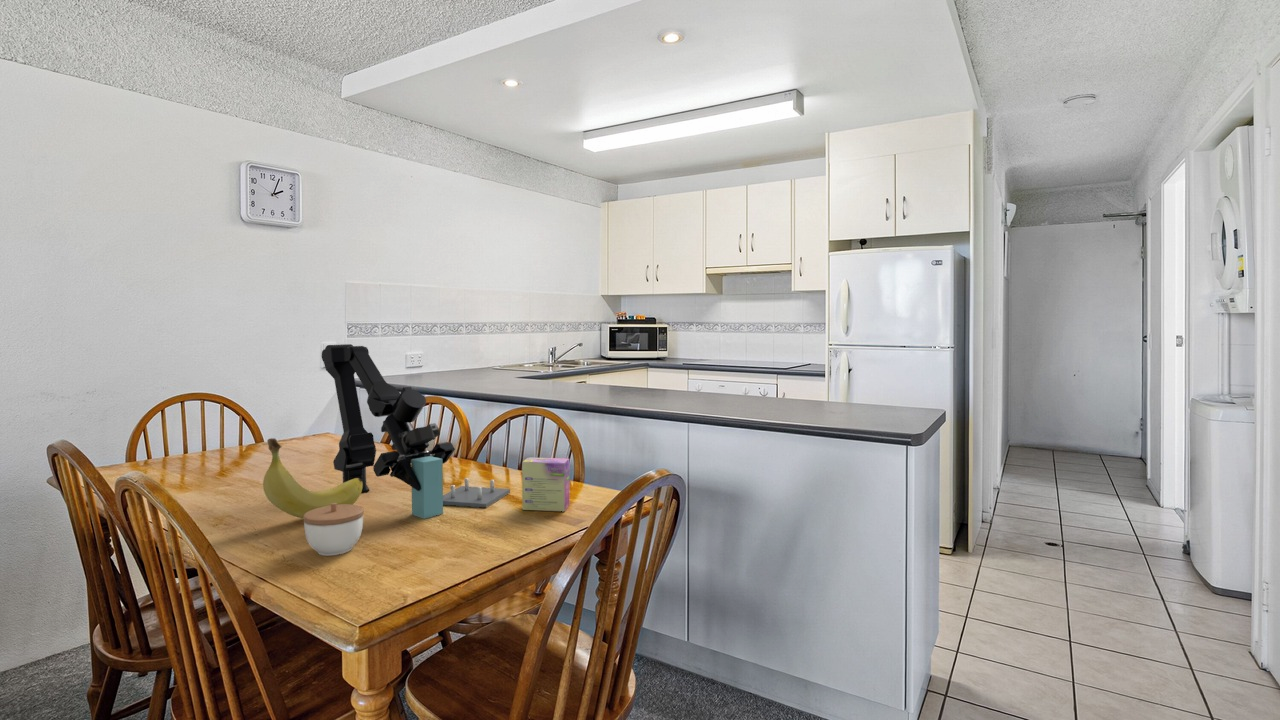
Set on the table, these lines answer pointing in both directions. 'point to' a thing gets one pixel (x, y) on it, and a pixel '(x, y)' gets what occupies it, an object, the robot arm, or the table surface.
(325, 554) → the lidded jar
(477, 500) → the base plate
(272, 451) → the banana
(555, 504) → the box
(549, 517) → the table surface
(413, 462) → the teal block
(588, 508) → the table surface
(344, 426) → the robot arm
